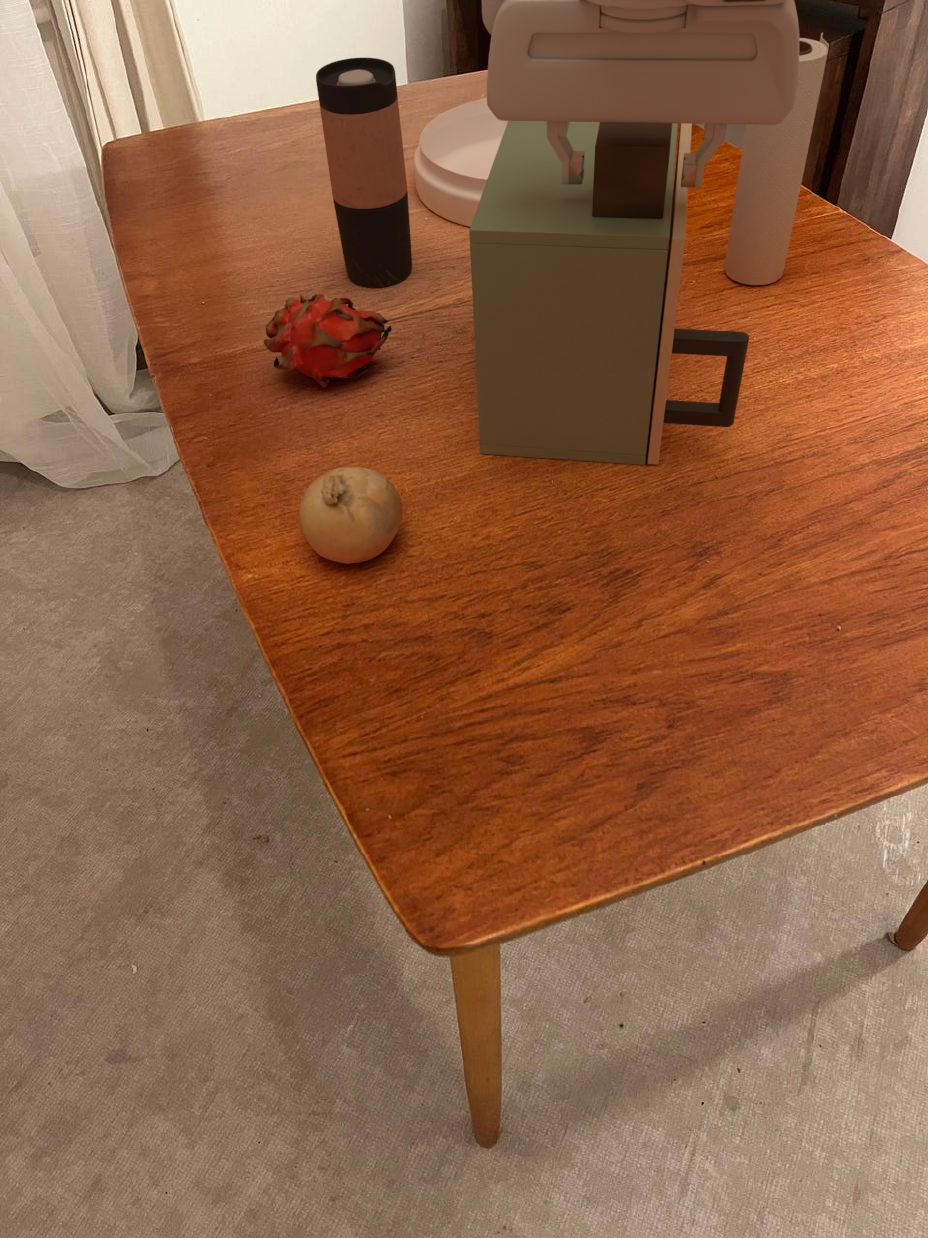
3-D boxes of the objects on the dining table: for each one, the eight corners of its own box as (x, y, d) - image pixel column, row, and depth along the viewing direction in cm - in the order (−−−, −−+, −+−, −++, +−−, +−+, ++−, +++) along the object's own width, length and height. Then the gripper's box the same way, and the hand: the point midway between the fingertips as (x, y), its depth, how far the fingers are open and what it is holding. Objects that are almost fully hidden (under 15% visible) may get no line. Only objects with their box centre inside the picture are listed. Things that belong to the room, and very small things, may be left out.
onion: (300, 518, 80) (284, 449, 75) (396, 500, 81) (386, 430, 75) (312, 586, 74) (295, 517, 69) (414, 566, 75) (406, 496, 70)
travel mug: (337, 261, 108) (307, 64, 93) (404, 248, 109) (384, 51, 95) (353, 294, 103) (323, 91, 88) (423, 280, 104) (405, 77, 90)
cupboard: (657, 313, 98) (679, 100, 83) (644, 465, 82) (669, 236, 67) (518, 306, 100) (515, 98, 85) (480, 454, 84) (468, 229, 69)
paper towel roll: (736, 291, 100) (775, 61, 84) (715, 262, 104) (747, 38, 88) (803, 280, 100) (854, 51, 85) (779, 252, 104) (823, 29, 89)
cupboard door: (728, 314, 97) (762, 103, 82) (728, 469, 81) (771, 241, 66) (660, 311, 98) (682, 102, 83) (647, 464, 82) (672, 238, 67)
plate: (612, 244, 108) (615, 194, 104) (383, 220, 114) (378, 173, 110) (657, 143, 125) (661, 97, 121) (456, 127, 131) (453, 83, 127)
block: (665, 187, 72) (672, 116, 68) (663, 219, 69) (670, 146, 65) (597, 185, 73) (601, 115, 69) (591, 217, 70) (595, 144, 66)
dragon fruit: (265, 391, 95) (388, 388, 97) (265, 386, 87) (400, 383, 89) (259, 299, 93) (384, 298, 96) (259, 286, 85) (396, 285, 87)
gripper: (471, -28, 59) (480, 198, 70) (823, -31, 56) (778, 206, 66) (488, -57, 63) (494, 160, 74) (816, -62, 60) (775, 166, 70)
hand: (631, 182), depth 70 cm, fingers open, 7 cm apart
